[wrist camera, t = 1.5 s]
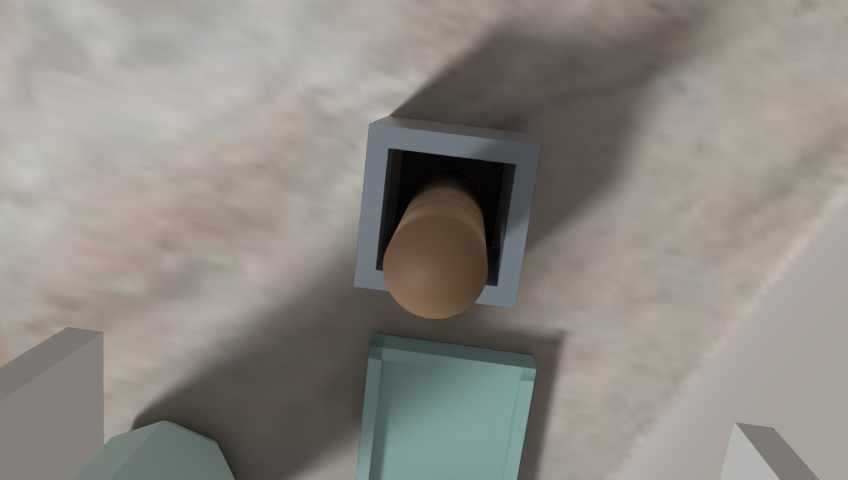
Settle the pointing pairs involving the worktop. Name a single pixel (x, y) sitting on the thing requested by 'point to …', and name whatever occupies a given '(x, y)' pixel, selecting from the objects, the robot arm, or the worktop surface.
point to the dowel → (439, 248)
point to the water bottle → (158, 456)
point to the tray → (443, 411)
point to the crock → (460, 142)
